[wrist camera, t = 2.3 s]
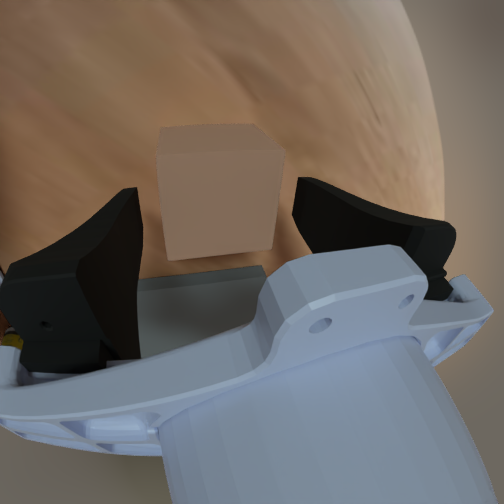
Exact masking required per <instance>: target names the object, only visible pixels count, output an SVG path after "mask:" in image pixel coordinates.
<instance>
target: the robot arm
mask: <svg viewBox="0 0 504 504" xmlns="http://www.w3.org/2000/svg"><path fill="white" fill-rule="evenodd" d="M292 216H293V219H294V221H295V224H296V226H297V228H298V230H299V232H300V234H301V235H302V237H303V239H304V240H305V242H306V243H307V245H308V247H309V248H310V250H311V251H312V253H313V254H310V255H306V256H303V257H300V258H297V259H294V260H291V261H288V262H286V263H285V264H283V265H282V266H281V267H280V268H279V269H277V270H276V271H275V272H274V273H272V274H271V275H270V276H269V277H268V278H267V279H266V281H265V283H264V285H263V287H262V289H261V291H260V293H259V295H258V303H257V310H256V314H255V317H254V319H253V320H252V321H251V322H249V323H247V324H244V325H241V326H238V327H236V328H233V329H230V330H227V331H225V332H222V333H219V334H216V335H213V336H210V337H208V338H205V339H202V340H199V341H196V342H193V343H190V344H187V345H184V346H181V347H177V348H174V349H171V350H168V351H165V352H161V353H158V354H155V355H152V356H148V357H145V358H141V352H140V342H139V330H138V313H137V288H138V279H139V271H140V263H141V256H142V249H143V223H142V217H141V211H140V204H139V198H138V190H137V187H134V188H127V189H123V190H121V191H120V192H119V193H118V194H116V195H115V196H114V197H113V198H112V199H111V200H110V201H109V202H108V203H107V204H106V205H105V206H103V207H102V208H101V209H100V210H99V211H98V212H97V213H95V214H94V215H93V216H92V217H91V218H90V219H89V220H87V221H86V222H85V223H84V224H82V225H81V226H79V227H78V228H77V229H75V230H74V231H73V232H71V233H70V234H68V235H66V236H65V237H63V238H62V239H60V240H58V241H57V242H55V243H53V244H52V245H50V246H48V247H46V248H44V249H42V250H40V251H38V252H36V253H34V254H32V255H30V256H28V257H25V258H23V259H21V260H18V261H16V262H14V263H11V264H10V266H9V268H8V270H7V272H6V275H5V277H4V276H3V275H2V273H1V271H0V309H1V311H2V313H3V314H4V316H5V318H6V319H7V320H8V322H9V323H10V324H11V326H12V327H13V328H14V330H15V331H16V332H17V334H18V335H19V336H20V337H21V339H22V340H23V341H24V342H23V346H22V350H20V349H19V348H17V347H14V346H2V345H0V425H1V426H3V427H4V428H6V429H8V430H9V431H11V432H13V433H15V434H16V435H18V436H20V437H22V438H24V439H28V440H32V441H37V442H41V443H46V444H51V445H56V446H62V447H67V448H73V449H79V450H86V451H93V452H100V453H109V454H121V455H137V456H163V461H164V467H165V472H166V477H167V482H168V486H169V491H170V494H171V499H172V503H173V504H499V503H498V501H497V499H496V497H495V494H494V490H493V487H492V484H491V481H490V479H489V476H488V474H487V471H486V469H485V466H484V464H483V462H482V459H481V457H480V455H479V452H478V450H477V448H476V446H475V444H474V441H473V439H472V437H471V435H470V433H469V431H468V429H467V427H466V425H465V423H464V421H463V419H462V417H461V415H460V413H459V411H458V410H457V408H456V406H455V404H454V402H453V400H452V398H451V397H450V395H449V393H448V391H447V390H446V388H445V386H444V384H443V383H442V381H441V379H440V377H439V376H438V374H437V372H436V371H435V369H434V367H435V366H436V365H438V364H439V363H440V362H442V361H443V360H444V359H446V358H448V357H449V356H450V355H452V354H453V353H455V352H456V351H458V350H459V349H460V348H462V347H463V346H465V345H466V344H467V342H468V341H469V340H470V339H471V338H472V337H473V336H474V335H475V334H476V332H477V331H478V330H479V329H480V328H481V327H482V325H483V324H484V323H485V322H486V321H487V319H488V318H489V317H490V316H491V314H492V313H493V309H492V307H491V306H490V304H489V303H488V302H487V300H486V299H485V298H484V297H483V295H482V294H481V293H480V292H479V291H478V289H477V288H476V287H475V286H474V285H473V284H472V282H471V281H470V280H469V279H468V278H467V276H466V275H464V274H462V275H460V276H457V277H454V278H452V279H451V280H450V281H449V282H448V281H447V280H446V279H445V278H444V277H445V276H446V275H447V272H446V271H445V270H444V269H443V266H444V264H445V263H446V261H447V259H448V257H449V255H450V253H451V252H452V249H453V247H454V245H455V241H456V230H455V228H454V227H453V226H452V225H450V223H448V222H445V221H440V220H434V219H428V218H422V217H418V216H414V215H409V214H405V213H402V212H398V211H395V210H392V209H388V208H385V207H382V206H380V205H377V204H374V203H371V202H369V201H366V200H364V199H362V198H359V197H357V196H355V195H352V194H350V193H348V192H346V191H344V190H341V189H339V188H337V187H335V186H333V185H330V184H328V183H326V182H323V181H321V180H318V179H315V178H311V177H298V181H297V187H296V193H295V199H294V205H293V211H292Z"/></svg>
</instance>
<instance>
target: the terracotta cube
mask: <svg viewBox="0 0 504 504" xmlns="http://www.w3.org/2000/svg"><path fill="white" fill-rule="evenodd" d="M285 151H286V150H285V149H283V148H282V147H281V146H280V145H279V144H277V143H276V142H275V141H274V140H273V139H271V138H270V137H269V136H268V135H266V134H265V133H264V132H263V131H261V130H260V129H259V128H258V127H256V126H255V125H254V124H202V125H184V126H171V127H161V129H160V135H159V140H158V146H157V152H156V165H157V178H158V188H159V198H160V207H161V216H162V224H163V232H164V239H165V246H166V253H167V259H168V261H173V260H182V259H191V258H200V257H209V256H218V255H227V254H235V253H244V252H253V251H262V250H271V249H272V245H273V238H274V231H275V224H276V217H277V210H278V203H279V196H280V189H281V182H282V174H283V167H284V159H285Z"/></svg>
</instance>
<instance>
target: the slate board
mask: <svg viewBox="0 0 504 504" xmlns="http://www.w3.org/2000/svg"><path fill="white" fill-rule="evenodd" d="M265 281H266V274H265V272H264V269H263V267H262V265H260V266H252V267H243V268H235V269H227V270H219V271H210V272H202V273H193V274H185V275H176V276H167V277H158V278H149V279H140V280H138V288H137V313H138V330H139V342H140V352H141V358H145V357H148V356H152V355H155V354H158V353H161V352H165V351H168V350H171V349H174V348H177V347H181V346H184V345H187V344H190V343H193V342H196V341H199V340H202V339H205V338H208V337H210V336H213V335H216V334H219V333H222V332H225V331H227V330H230V329H233V328H236V327H238V326H241V325H244V324H247V323H249V322H251V321H252V320H253V319H254V317H255V314H256V310H257V303H258V295H259V293H260V291H261V289H262V287H263V285H264V283H265Z"/></svg>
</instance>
